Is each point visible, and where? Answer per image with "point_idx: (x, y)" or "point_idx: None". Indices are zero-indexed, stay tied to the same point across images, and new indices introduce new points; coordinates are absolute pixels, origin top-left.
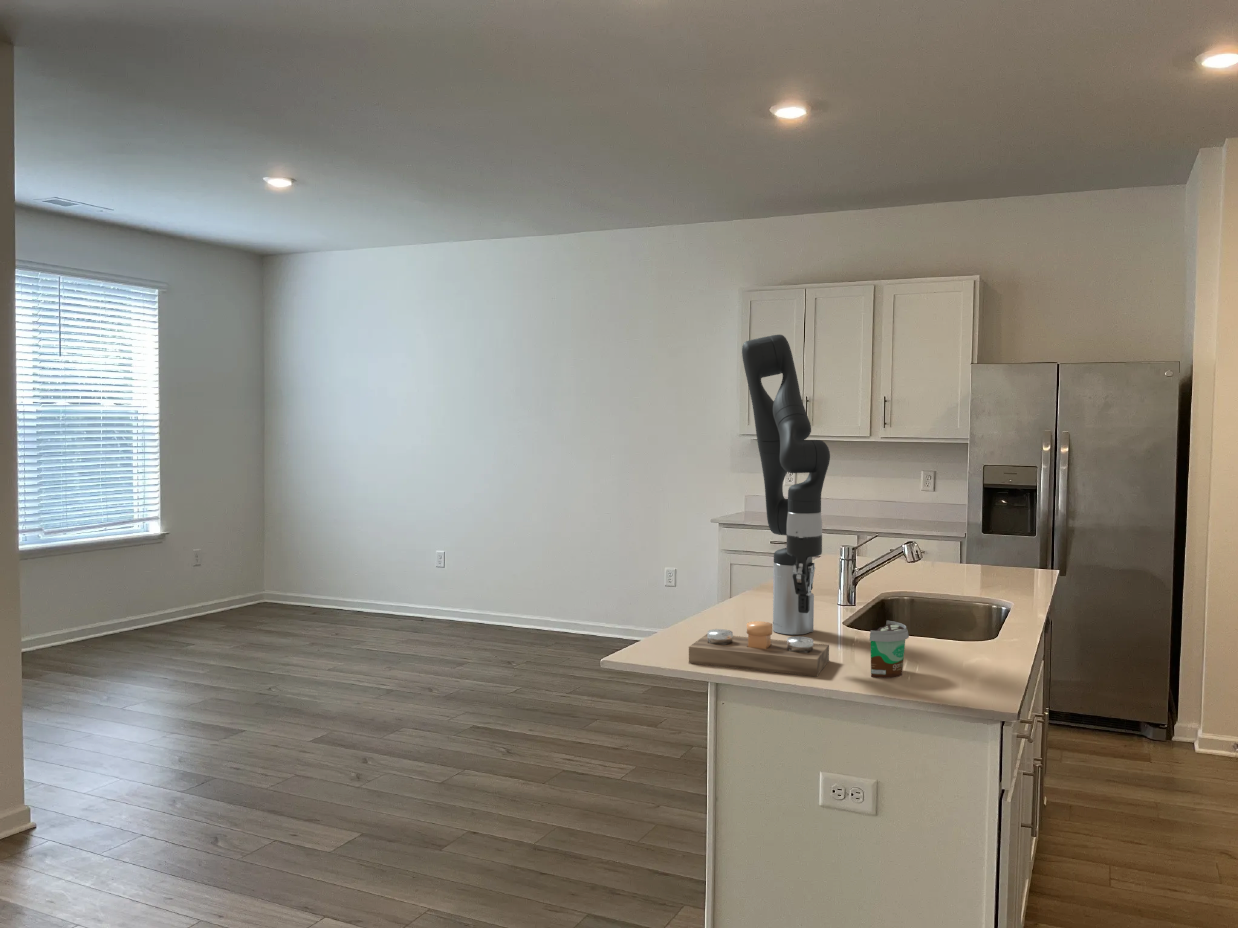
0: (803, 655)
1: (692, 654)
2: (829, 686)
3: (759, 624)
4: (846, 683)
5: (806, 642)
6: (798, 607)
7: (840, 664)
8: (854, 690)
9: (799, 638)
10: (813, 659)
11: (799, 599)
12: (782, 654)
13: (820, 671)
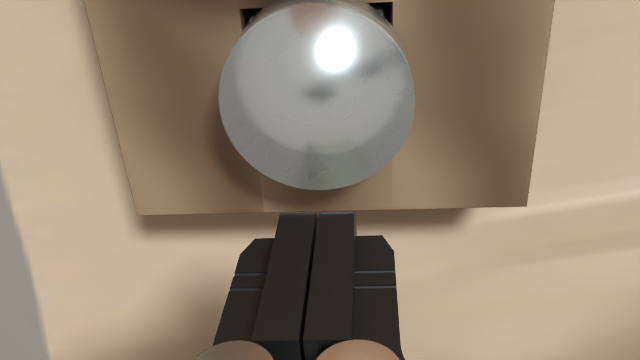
0: (181, 132)
1: None
2: (45, 243)
3: None
4: (133, 289)
5: (250, 162)
6: (276, 237)
7: (445, 219)
8: (57, 326)
9: (343, 94)
10: (134, 197)
11: (263, 313)
12: (128, 5)
13: None
